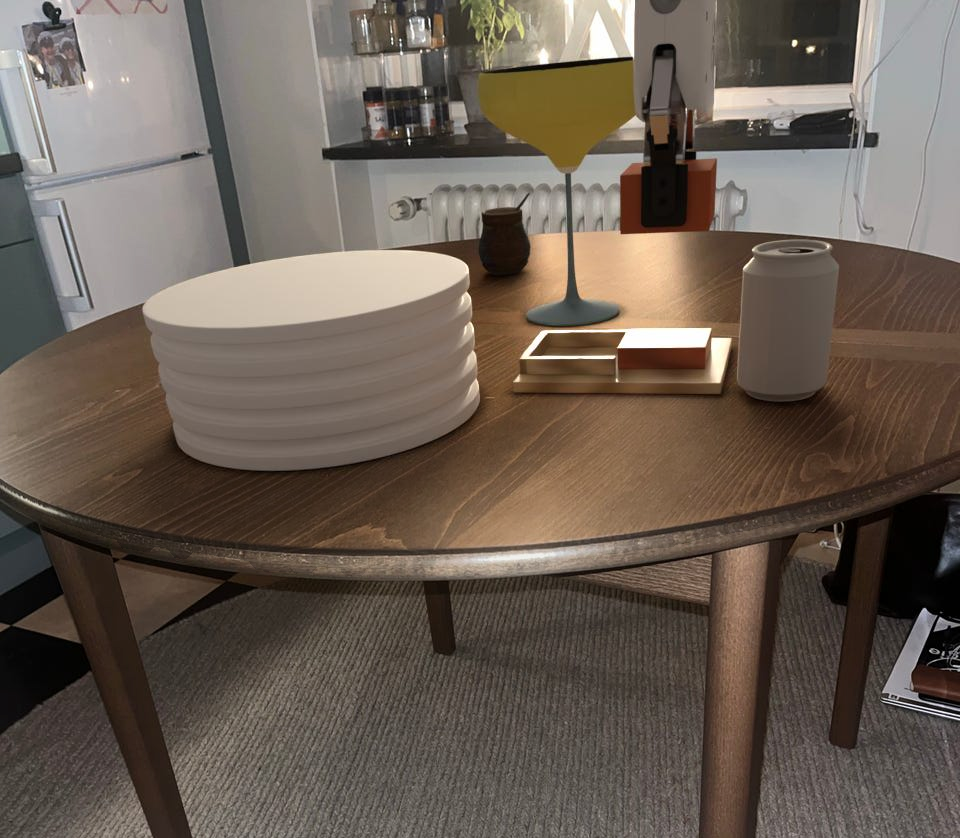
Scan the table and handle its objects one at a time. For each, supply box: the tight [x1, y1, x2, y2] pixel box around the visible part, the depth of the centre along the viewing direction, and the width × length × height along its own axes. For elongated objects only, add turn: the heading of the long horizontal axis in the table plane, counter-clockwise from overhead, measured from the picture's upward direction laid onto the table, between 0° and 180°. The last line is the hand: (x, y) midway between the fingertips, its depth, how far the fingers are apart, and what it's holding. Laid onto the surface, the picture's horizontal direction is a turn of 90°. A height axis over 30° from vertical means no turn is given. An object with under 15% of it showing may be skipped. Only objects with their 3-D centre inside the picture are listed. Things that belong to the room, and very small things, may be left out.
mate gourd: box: [477, 192, 531, 276], centre depth 133 cm, size 7×8×10 cm
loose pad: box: [619, 157, 718, 235], centre depth 72 cm, size 6×6×4 cm
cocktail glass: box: [477, 56, 636, 327], centre depth 106 cm, size 18×18×25 cm
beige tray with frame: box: [512, 327, 733, 395], centre depth 93 cm, size 19×14×3 cm
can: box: [736, 239, 840, 403], centre depth 81 cm, size 8×8×12 cm
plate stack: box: [141, 249, 481, 472], centre depth 87 cm, size 28×28×12 cm
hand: (668, 214), depth 73 cm, fingers closed on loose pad, 6 cm apart
